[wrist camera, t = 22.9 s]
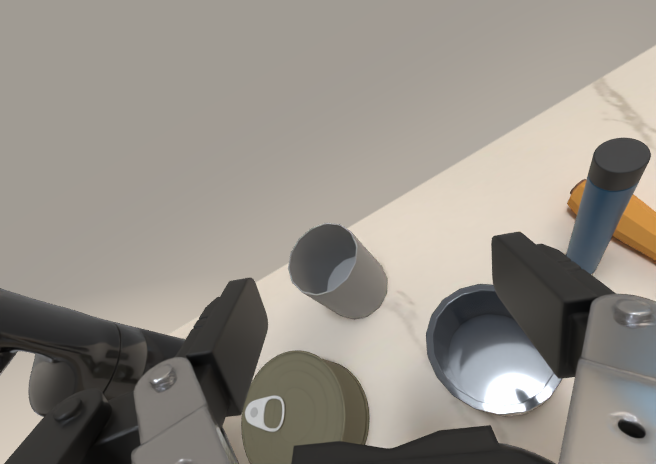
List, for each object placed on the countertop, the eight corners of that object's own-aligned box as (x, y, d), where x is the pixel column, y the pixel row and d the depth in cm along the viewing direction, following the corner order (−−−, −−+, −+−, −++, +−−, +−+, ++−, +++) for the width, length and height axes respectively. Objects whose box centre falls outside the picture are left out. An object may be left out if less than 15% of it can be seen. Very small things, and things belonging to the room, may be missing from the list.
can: (372, 487, 33) (343, 500, 27) (272, 473, 38) (231, 481, 32) (370, 358, 38) (346, 348, 33) (283, 360, 43) (250, 352, 38)
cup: (364, 245, 46) (332, 209, 38) (400, 289, 41) (372, 257, 33) (318, 284, 46) (277, 257, 39) (348, 332, 41) (308, 311, 33)
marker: (568, 277, 33) (601, 177, 20) (561, 254, 34) (587, 144, 21) (600, 275, 32) (659, 166, 18) (592, 250, 33) (641, 132, 20)
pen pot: (449, 413, 33) (431, 410, 26) (439, 312, 37) (422, 289, 31) (569, 420, 28) (583, 420, 22) (541, 306, 33) (545, 277, 26)
